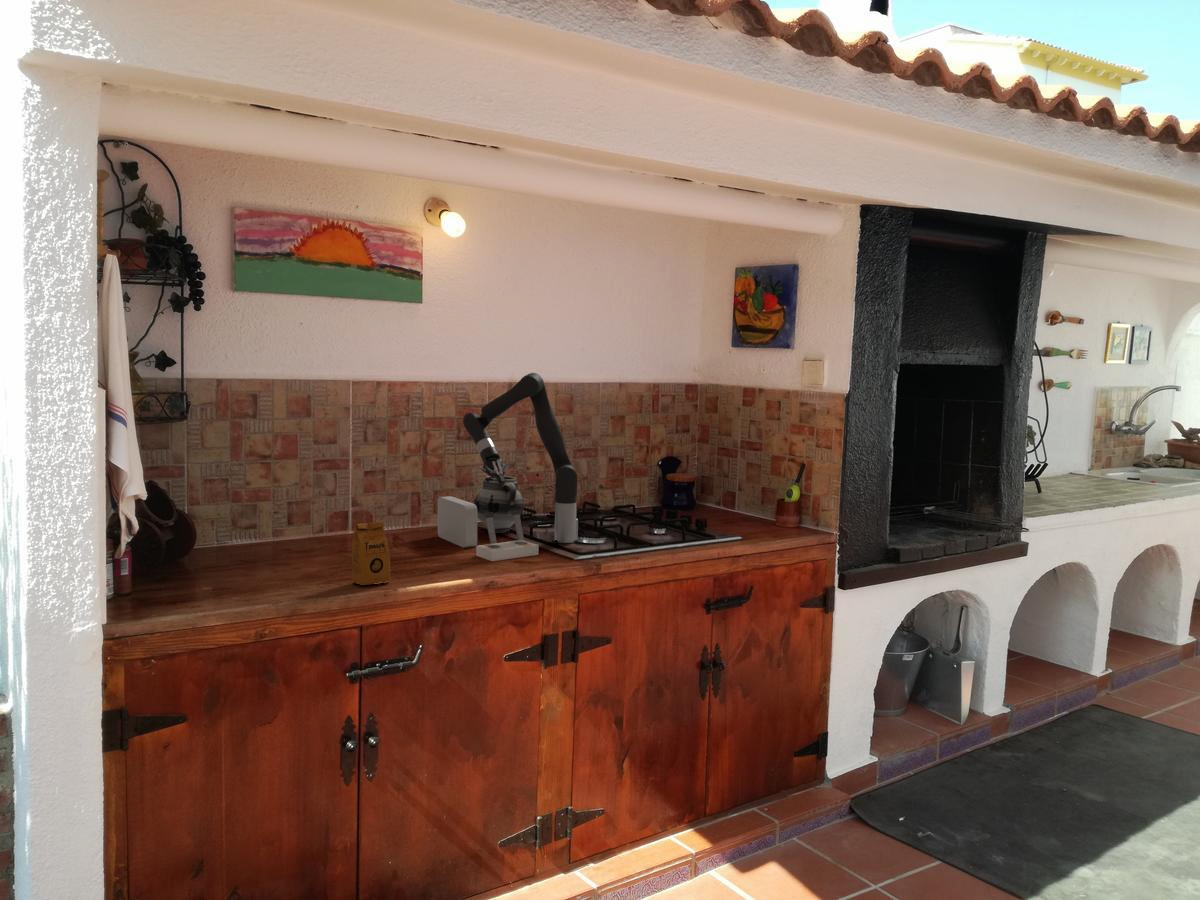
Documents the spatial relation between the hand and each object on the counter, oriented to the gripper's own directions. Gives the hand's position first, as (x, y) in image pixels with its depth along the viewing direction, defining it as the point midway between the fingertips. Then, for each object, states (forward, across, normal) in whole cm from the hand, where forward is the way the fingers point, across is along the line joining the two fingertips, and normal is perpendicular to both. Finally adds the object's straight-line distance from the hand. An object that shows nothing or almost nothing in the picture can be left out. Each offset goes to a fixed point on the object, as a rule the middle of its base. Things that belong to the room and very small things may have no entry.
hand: (502, 483), depth 404 cm
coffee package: (+40, -73, -2) cm, 83 cm away
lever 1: (+27, -14, +4) cm, 31 cm away
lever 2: (+27, -1, +4) cm, 27 cm away
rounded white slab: (+7, -12, +32) cm, 34 cm away
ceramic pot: (-1, +16, +39) cm, 42 cm away
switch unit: (+31, -8, +7) cm, 32 cm away
